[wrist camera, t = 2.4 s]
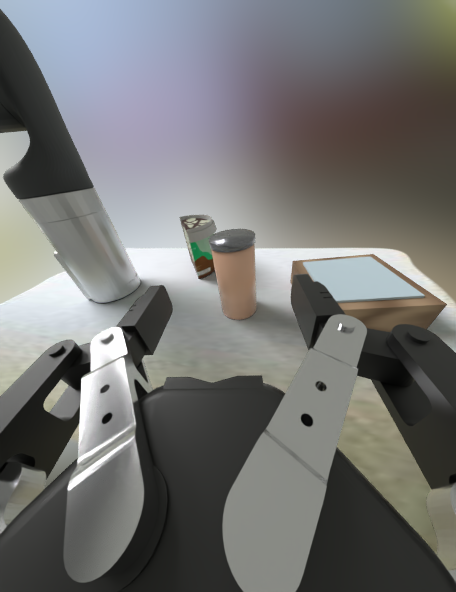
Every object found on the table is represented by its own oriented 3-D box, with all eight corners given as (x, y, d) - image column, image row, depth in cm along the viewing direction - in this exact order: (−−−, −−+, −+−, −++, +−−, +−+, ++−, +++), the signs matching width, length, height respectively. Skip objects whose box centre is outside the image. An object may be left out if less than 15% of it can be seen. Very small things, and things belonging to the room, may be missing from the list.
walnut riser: (313, 335, 21) (320, 309, 19) (290, 282, 31) (293, 259, 28) (424, 331, 20) (448, 301, 17) (364, 276, 29) (374, 252, 27)
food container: (229, 274, 35) (223, 222, 29) (200, 282, 34) (186, 230, 28) (214, 253, 45) (206, 211, 39) (190, 259, 44) (179, 216, 38)
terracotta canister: (220, 321, 25) (205, 247, 19) (223, 298, 29) (211, 231, 23) (258, 319, 24) (256, 242, 18) (255, 295, 29) (253, 227, 22)
